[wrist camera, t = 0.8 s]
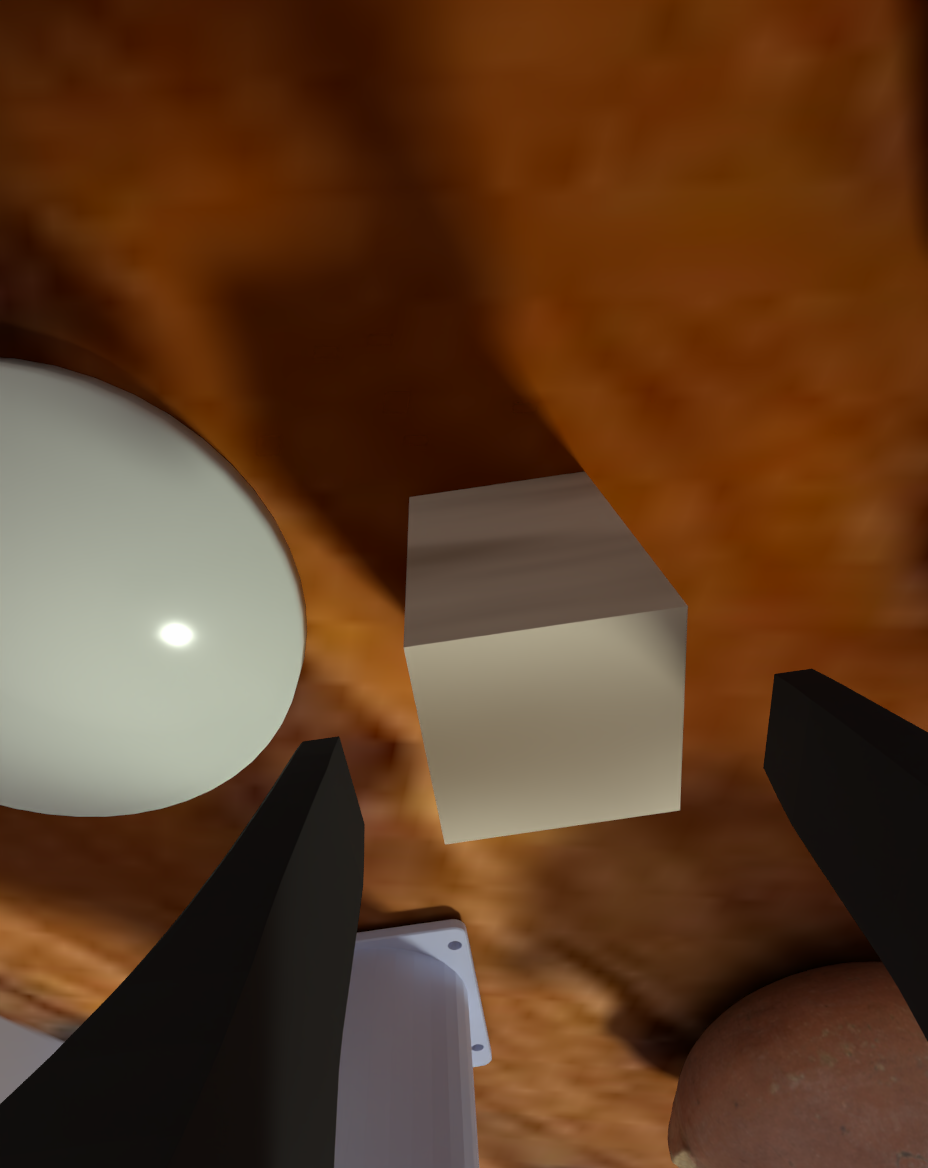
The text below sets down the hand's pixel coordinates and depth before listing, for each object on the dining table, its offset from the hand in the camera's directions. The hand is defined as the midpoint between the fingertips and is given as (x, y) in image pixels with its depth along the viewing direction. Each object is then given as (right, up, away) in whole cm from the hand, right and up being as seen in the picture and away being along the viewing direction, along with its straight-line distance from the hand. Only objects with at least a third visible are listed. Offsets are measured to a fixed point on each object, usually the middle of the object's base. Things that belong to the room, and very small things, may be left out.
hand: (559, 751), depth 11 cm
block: (-1, +3, +7) cm, 7 cm away
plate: (-12, +2, +6) cm, 14 cm away
